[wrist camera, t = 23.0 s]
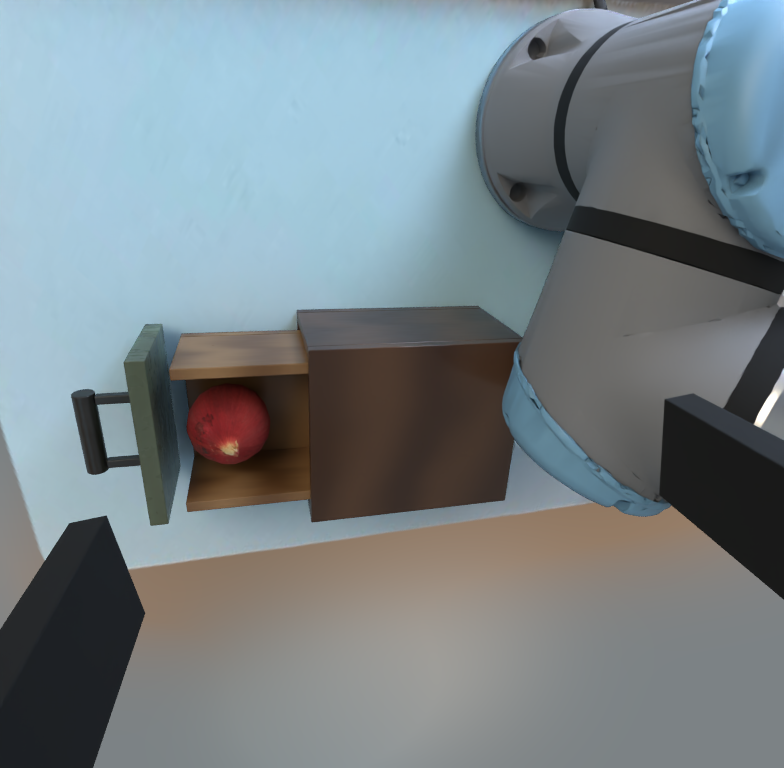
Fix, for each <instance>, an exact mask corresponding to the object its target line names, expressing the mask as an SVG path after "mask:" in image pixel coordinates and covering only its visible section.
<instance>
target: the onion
mask: <svg viewBox="0 0 784 768" xmlns="http://www.w3.org/2000/svg"><path fill="white" fill-rule="evenodd" d="M186 427H187V433H188V435H189V438H190V440H191V443H192V445H193V447H194V449H195V450H196V451H197V452H199V453H200V454H201V455H203V456H204V457H205V458H207V459H209V460H213V461H215V462H218V463H220V464H237V463H240V462H243V461H245V460H248V459H249V458H250V457H252V456H253V455H255V454H256V453H258V452H259V451H260V450H261V449H262V447H263V445H264V443H265V442H266V440H267V438H268V435H269V430H270V417H269V414H268V411H267V408H266V405H265V402H264V401H263V400H262V399H261V398H260V397H259V396H258V394H257V393H256V392H254V391H253V390H251V389H249V388H247V387H245V386H243V385H239V384H229V383H225V384H221V385H217V386H213V387H211V388H209V389H208V390H206V391H204V392H203V393H201V394H200V395H199V396H198V398H197V399H196V401H195V402H194V404H193V405H192V406H191V408H190V410H189V412H188V419H187V426H186Z"/></svg>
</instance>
